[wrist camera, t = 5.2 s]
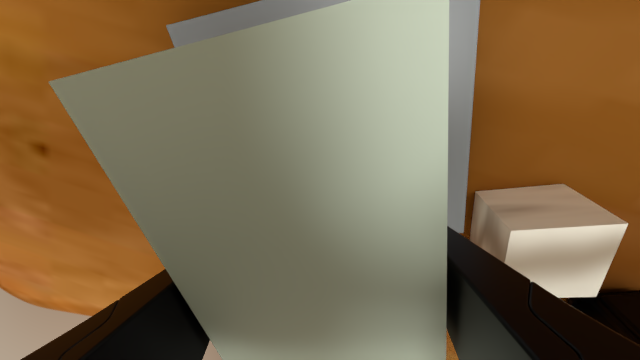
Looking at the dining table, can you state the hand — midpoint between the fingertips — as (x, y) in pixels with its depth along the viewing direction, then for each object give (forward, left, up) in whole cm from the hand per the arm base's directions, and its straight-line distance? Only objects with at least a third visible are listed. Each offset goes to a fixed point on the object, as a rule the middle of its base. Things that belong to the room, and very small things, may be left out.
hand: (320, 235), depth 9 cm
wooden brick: (0, 0, -1) cm, 1 cm away
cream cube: (-9, -13, -11) cm, 19 cm away
